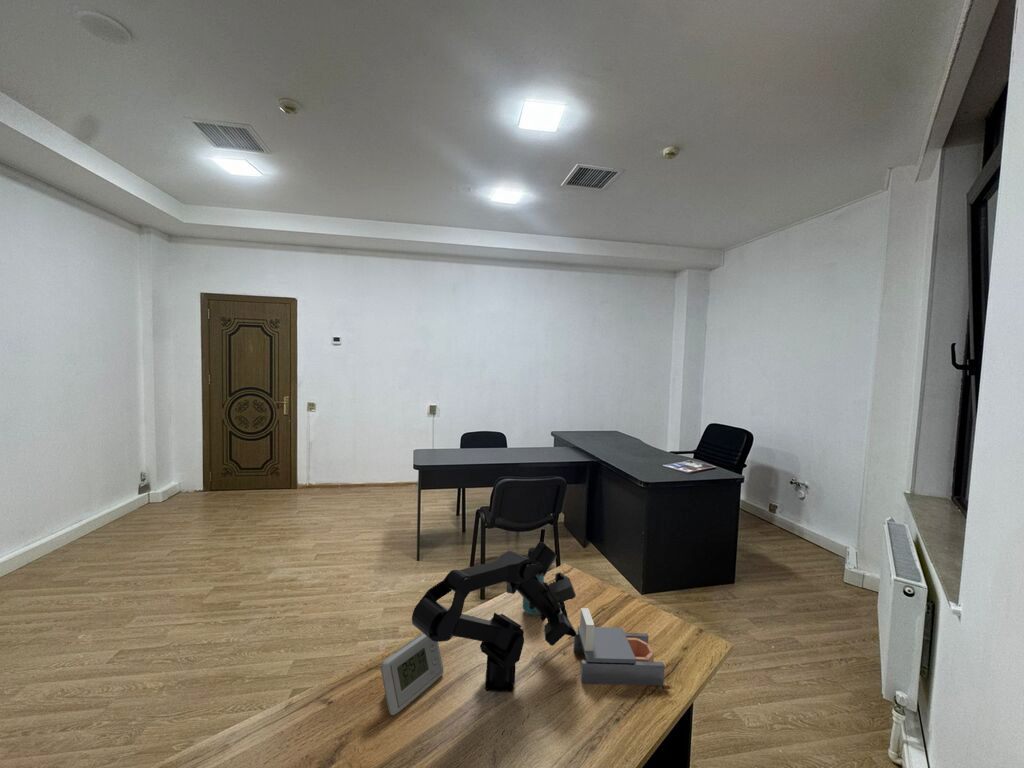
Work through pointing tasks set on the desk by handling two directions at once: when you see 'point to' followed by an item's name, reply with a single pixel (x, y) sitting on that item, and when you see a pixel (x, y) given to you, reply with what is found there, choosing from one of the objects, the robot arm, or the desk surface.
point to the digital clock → (410, 671)
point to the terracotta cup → (641, 650)
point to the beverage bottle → (525, 603)
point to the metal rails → (620, 668)
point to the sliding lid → (603, 642)
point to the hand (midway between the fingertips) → (574, 634)
